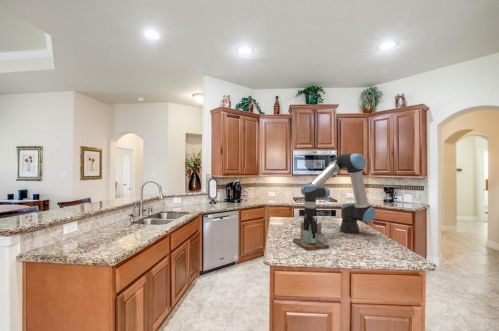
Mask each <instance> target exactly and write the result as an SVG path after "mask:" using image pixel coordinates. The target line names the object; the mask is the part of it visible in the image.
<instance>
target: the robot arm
mask: <svg viewBox="0 0 499 331" xmlns="http://www.w3.org/2000/svg"><path fill="white" fill-rule="evenodd" d="M365 167H366V159H365V157H364V155H363V154H361V153H356V152H355V153H343V154H340V155H338V156H336V157H334V158H333V159H331V161H330V162H329V163H328V165H327V166H326V167H325V168H324V169H323V170H322V171H321V172H320V173H319V174H318V175H317V176H316V177H315V178H314V179H313V180H311V182H309V183H307V184H305V185H303V186H302V187H301V188H300V193H301V195H303V196H304V214H303V221H304V224H303V229H305V231H307V230H309V225H311V231H312V233H311V243H315V233H317V222H318V217H316V216H315V215H316V214H317V213H316V212H317V199H325V198H329V197H330V195H331V191H330V188H328V187H327V186H323V185H324V184H326V182H327V181H328V180H330V178H332V177H333V176H334V175H335V174H337V173H338V172H340V171H342V170H346V173H347V174H349V177H350V182H351V186H352V192H353V195H354V200H355V202H351V203H350V202H349V203H348V202H347V203H346V202H345V203H342V205H341V224H340V227H339V232H342V233H345V234H359V233H360V228H359V224H358V221H359V222H363V223H371V222H373V220H375V217H376V209H375V208H374V207H372V206H371V203H370V202H369V201H368V195H367V192H366V186H365V182H364V181H365V180H364V176H363V171H364V168H365Z"/></svg>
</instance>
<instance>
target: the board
mask: <svg viewBox="0 0 499 331" xmlns="http://www.w3.org/2000/svg"><path fill="white" fill-rule="evenodd" d="M292 242H293V243H294V244H296V245H297V246H299V248H300V247H301V248H302V249H304V250H306V251H307V250H308V251H316V250H317V249H318V250H326V249H327V248H328V249H330V245H329V244H326V243H324V242H323V241H320V240H318V239H317V243H313V244H307V243H305V242H304V241H303V238H301V237H300V238H293V239H292Z"/></svg>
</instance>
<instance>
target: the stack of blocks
mask: <svg viewBox="0 0 499 331" xmlns="http://www.w3.org/2000/svg"><path fill="white" fill-rule="evenodd" d="M303 224H304V220H302V221H300V238H303V231H305V229H303ZM309 230H311V225H309ZM321 234H322V223H321V221H317V236H318V235H321Z"/></svg>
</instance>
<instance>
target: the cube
mask: <svg viewBox="0 0 499 331" xmlns="http://www.w3.org/2000/svg"><path fill="white" fill-rule="evenodd" d="M311 233H312V231H311V230H307V231H303V241H304V242H305V243H307V244H313V243H311ZM317 240H318V235H317V233H315V243H317Z"/></svg>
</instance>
